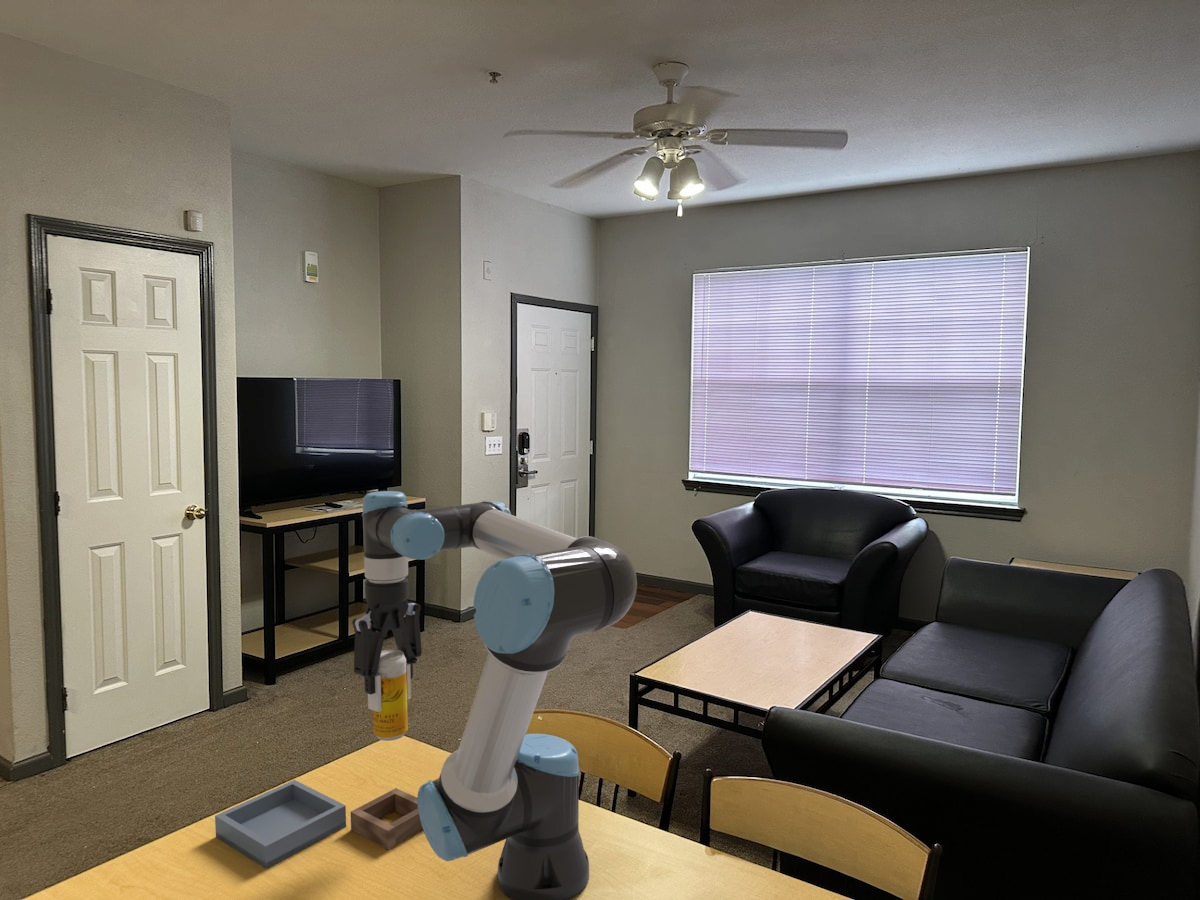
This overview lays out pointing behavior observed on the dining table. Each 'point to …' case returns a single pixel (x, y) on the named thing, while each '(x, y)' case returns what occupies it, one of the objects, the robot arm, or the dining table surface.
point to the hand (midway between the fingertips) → (390, 703)
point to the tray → (280, 823)
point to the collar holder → (370, 814)
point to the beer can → (392, 697)
